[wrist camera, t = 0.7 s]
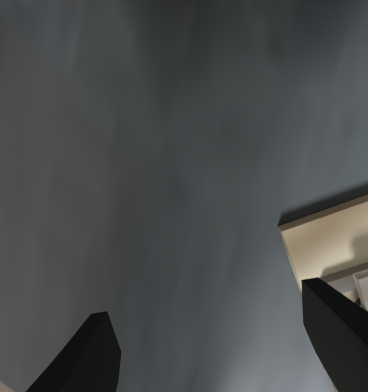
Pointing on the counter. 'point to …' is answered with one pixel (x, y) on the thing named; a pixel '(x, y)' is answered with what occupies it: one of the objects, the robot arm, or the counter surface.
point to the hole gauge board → (332, 248)
